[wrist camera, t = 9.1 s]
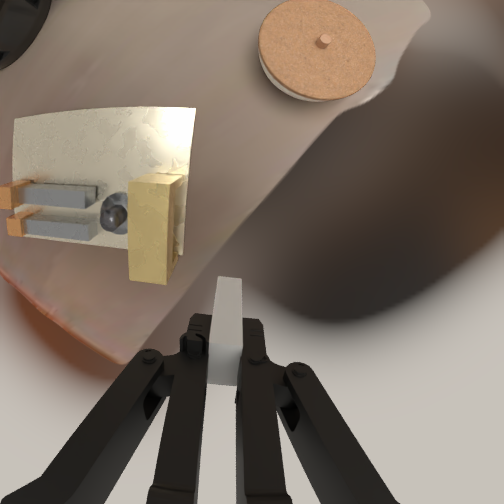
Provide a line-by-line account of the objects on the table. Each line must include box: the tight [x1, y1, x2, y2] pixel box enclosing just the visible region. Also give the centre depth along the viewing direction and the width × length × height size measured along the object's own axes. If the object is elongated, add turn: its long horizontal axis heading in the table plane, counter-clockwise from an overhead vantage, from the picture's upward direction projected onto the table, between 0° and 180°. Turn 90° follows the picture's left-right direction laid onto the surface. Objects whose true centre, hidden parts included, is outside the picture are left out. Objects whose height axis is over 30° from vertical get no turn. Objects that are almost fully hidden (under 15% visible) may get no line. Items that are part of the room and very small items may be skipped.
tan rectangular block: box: [128, 173, 183, 285], centre depth 29 cm, size 4×10×6 cm, turn 172°
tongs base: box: [6, 107, 196, 255], centre depth 28 cm, size 26×17×4 cm, turn 82°
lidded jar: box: [258, 0, 376, 102], centre depth 22 cm, size 11×11×9 cm
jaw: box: [0, 180, 96, 210], centre depth 27 cm, size 14×3×4 cm, turn 81°
